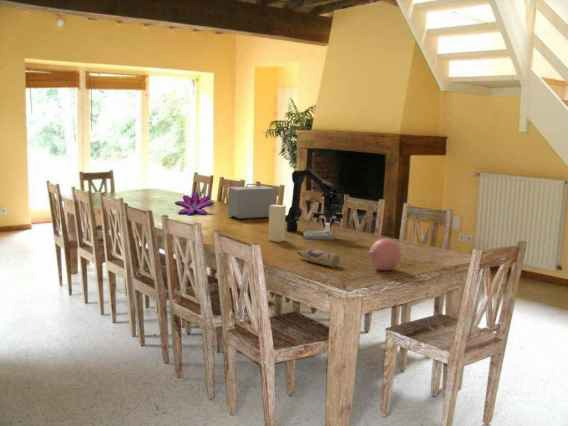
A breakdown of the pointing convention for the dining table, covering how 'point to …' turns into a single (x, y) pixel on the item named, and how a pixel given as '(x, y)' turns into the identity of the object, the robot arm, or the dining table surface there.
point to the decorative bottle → (321, 257)
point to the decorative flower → (194, 204)
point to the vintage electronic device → (251, 201)
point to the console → (317, 235)
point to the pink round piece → (384, 254)
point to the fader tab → (327, 228)
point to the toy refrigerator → (276, 223)
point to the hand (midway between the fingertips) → (327, 228)
